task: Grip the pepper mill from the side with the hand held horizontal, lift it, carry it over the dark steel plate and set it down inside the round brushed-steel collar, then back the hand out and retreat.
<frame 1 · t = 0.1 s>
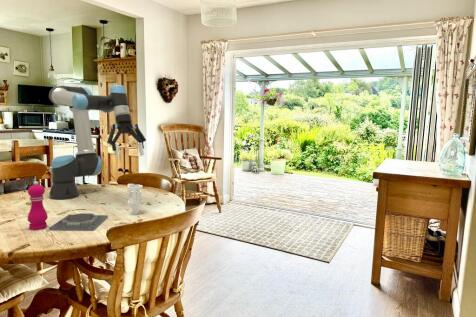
hand: (130, 156, 164), 28 cm above the table, tool tilted 20°, fingers open, 13 cm apart
pepper mill: (38, 227, 138), on the table
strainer: (135, 213, 162), on the table
collar plate: (80, 223, 145), on the table
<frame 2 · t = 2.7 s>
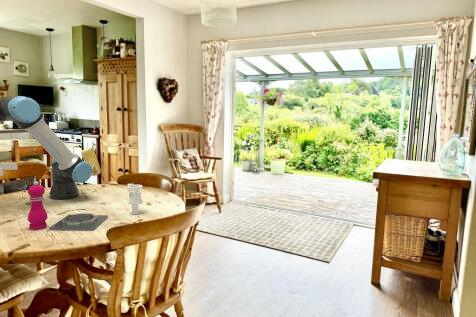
hand: (10, 169, 133), 25 cm above the table, tool horizontal, fingers open, 13 cm apart
nothing on the table moved.
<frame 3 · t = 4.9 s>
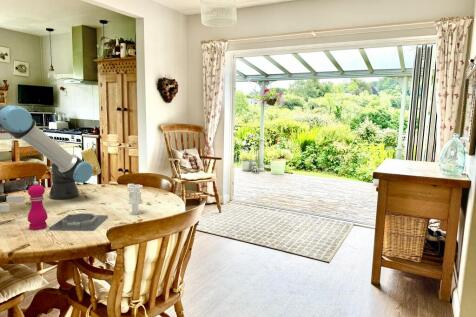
hand: (17, 203, 135), 11 cm above the table, tool horizontal, fingers open, 13 cm apart
nothing on the table moved.
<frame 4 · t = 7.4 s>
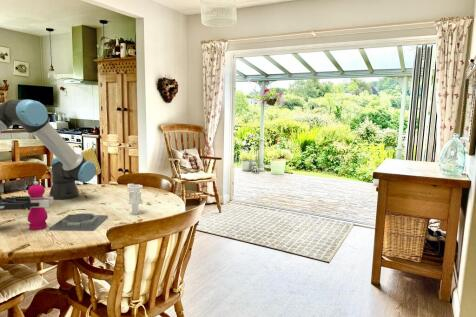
hand: (50, 201, 138), 11 cm above the table, tool horizontal, fingers closed on pepper mill, 5 cm apart
pepper mill: (38, 227, 138), on the table, touching gripper
everything else where it was.
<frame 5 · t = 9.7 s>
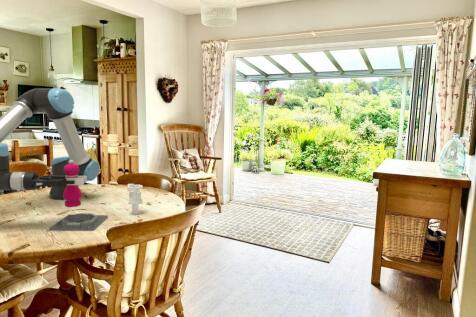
hand: (85, 180, 142), 20 cm above the table, tool horizontal, fingers closed on pepper mill, 5 cm apart
pepper mill: (72, 205, 142), point 8 cm above the table, touching gripper
everything else where it was.
when the fingers open (12 cm above the table, at t = 12.1 s): pepper mill stays where it is, resting on collar plate.
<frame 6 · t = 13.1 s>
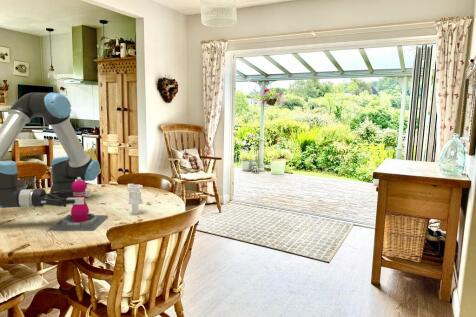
hand: (87, 196, 144), 12 cm above the table, tool horizontal, fingers open, 13 cm apart
pepper mill: (80, 221, 145), point 1 cm above the table, touching collar plate
everything else where it was.
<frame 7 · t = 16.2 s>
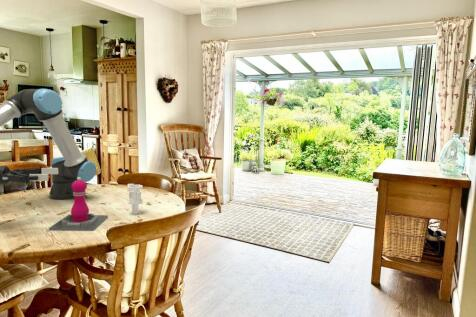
hand: (53, 174, 139), 22 cm above the table, tool horizontal, fingers open, 13 cm apart
nothing on the table moved.
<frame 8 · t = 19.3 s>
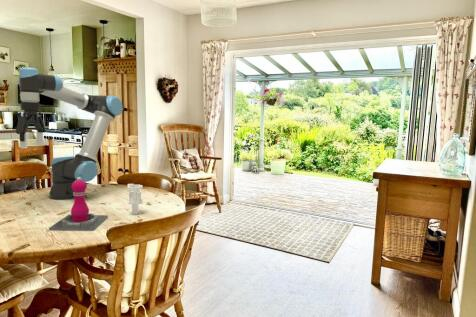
hand: (32, 147, 155), 32 cm above the table, tool pointing down, fingers open, 13 cm apart
nothing on the table moved.
at the end: pepper mill 0.0 cm off-centre on the collar plate, point 0.8 cm above the collar plate's base; pepper mill tilted 0°; the gripper is holding nothing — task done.
